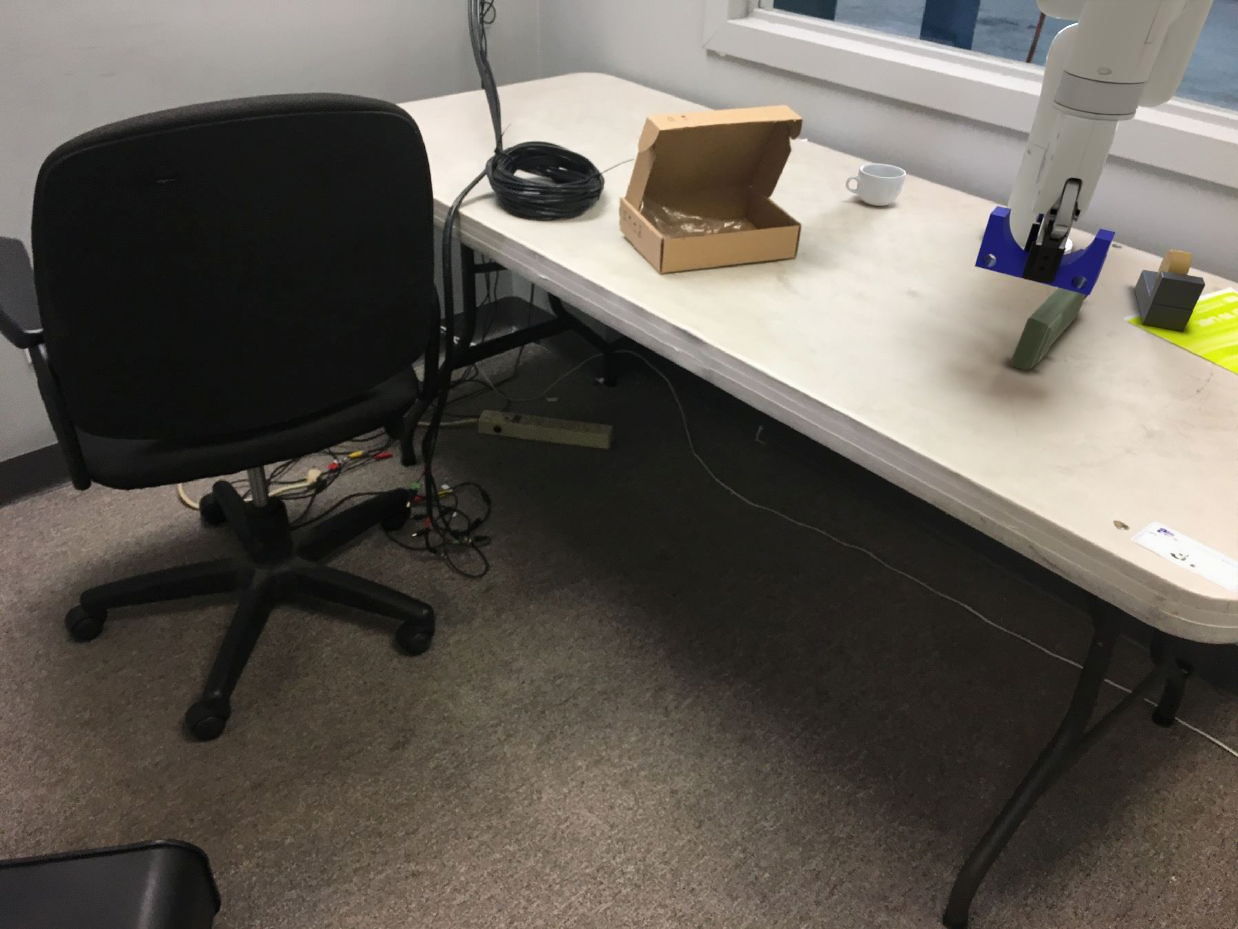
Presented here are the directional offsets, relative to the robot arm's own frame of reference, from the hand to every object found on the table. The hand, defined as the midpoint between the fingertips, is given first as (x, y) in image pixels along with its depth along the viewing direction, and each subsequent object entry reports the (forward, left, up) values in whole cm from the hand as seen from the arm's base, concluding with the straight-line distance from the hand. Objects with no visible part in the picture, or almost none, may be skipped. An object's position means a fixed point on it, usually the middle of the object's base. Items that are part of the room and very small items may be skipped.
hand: (1037, 268), depth 95 cm
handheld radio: (-16, +6, -14) cm, 22 cm away
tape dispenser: (-30, +20, -14) cm, 39 cm away
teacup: (-55, -23, -14) cm, 61 cm away
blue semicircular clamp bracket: (0, 0, -1) cm, 1 cm away
